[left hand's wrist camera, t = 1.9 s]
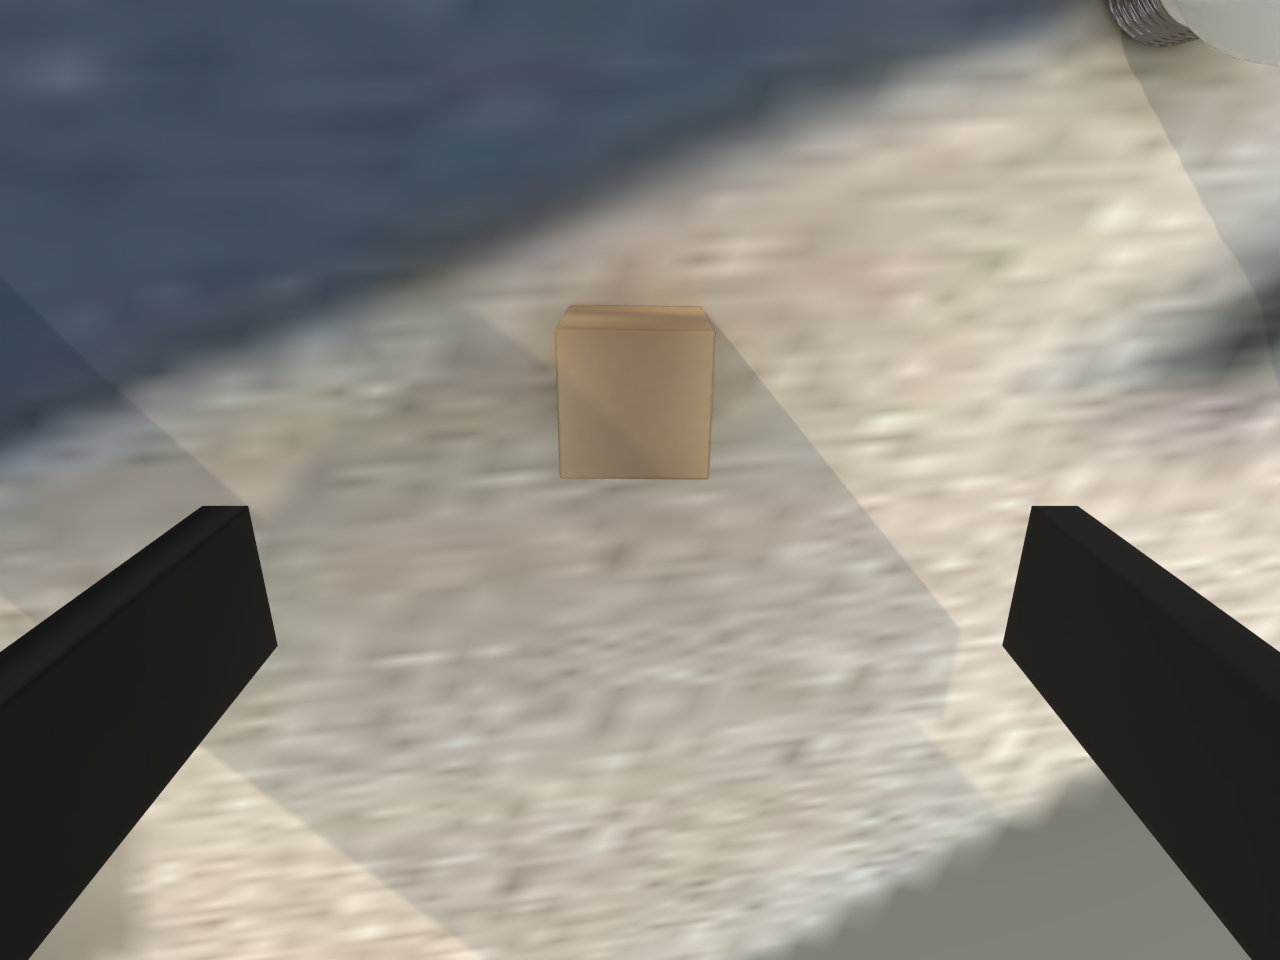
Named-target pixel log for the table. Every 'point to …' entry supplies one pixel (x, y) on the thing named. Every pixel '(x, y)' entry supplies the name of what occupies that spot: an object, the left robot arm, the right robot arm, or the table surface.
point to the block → (634, 392)
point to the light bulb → (1206, 25)
